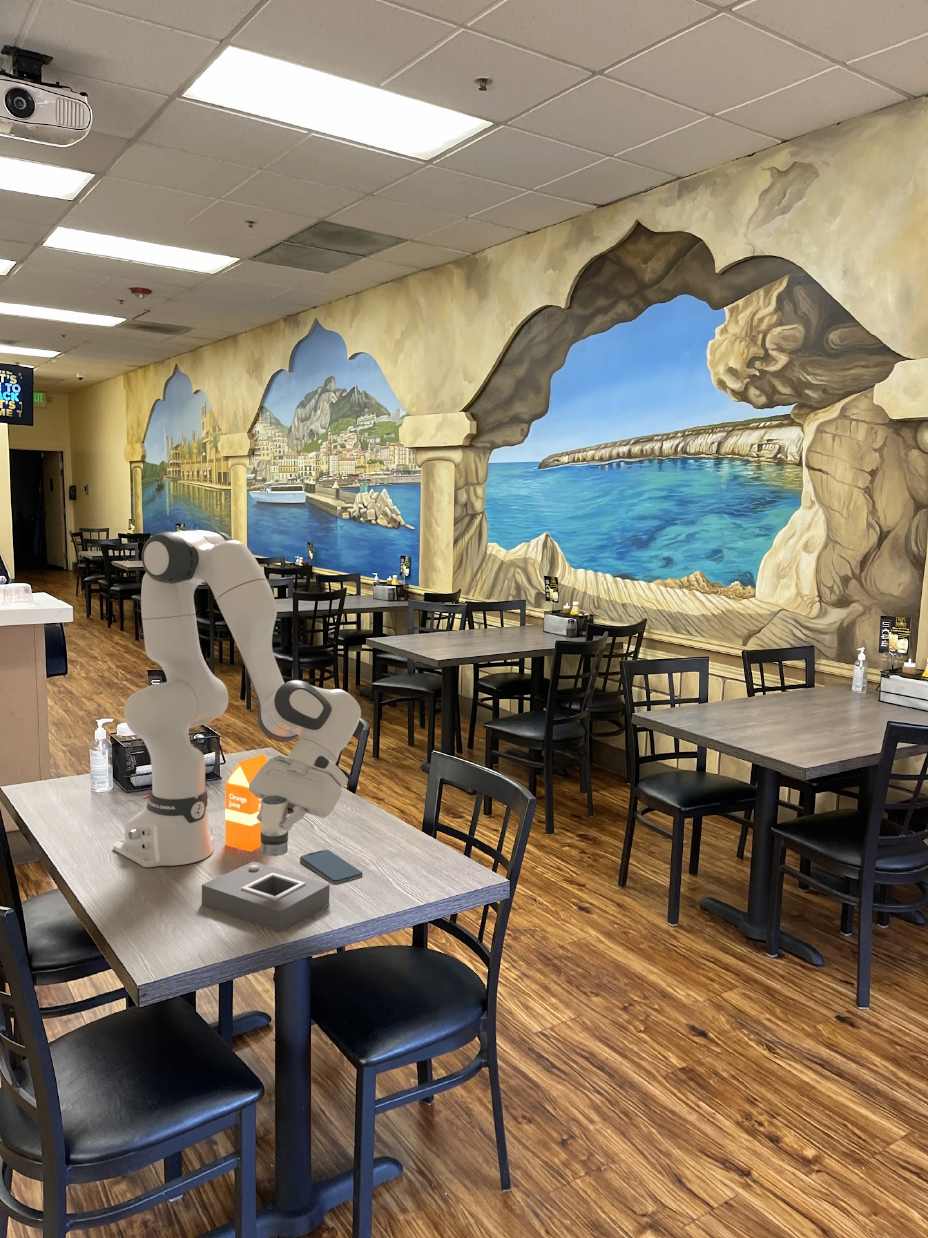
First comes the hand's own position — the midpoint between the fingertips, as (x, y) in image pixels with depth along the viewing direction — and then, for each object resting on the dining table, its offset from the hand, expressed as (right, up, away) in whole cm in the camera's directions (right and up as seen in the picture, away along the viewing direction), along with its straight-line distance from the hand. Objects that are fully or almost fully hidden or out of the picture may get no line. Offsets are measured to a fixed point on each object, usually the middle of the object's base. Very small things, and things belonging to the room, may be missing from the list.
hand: (272, 824), depth 164 cm
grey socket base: (-2, -16, +3) cm, 17 cm away
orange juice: (-13, -13, +35) cm, 39 cm away
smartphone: (+8, -15, +22) cm, 28 cm away
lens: (0, -5, +1) cm, 5 cm away
